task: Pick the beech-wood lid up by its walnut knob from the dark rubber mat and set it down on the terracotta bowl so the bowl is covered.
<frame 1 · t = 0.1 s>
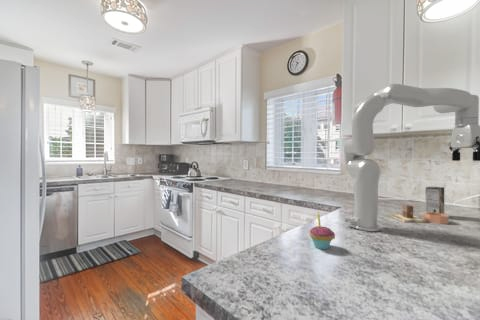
hand: (466, 160, 102), 31 cm above the counter, fingers open, 9 cm apart
mat: (407, 220, 117), on the counter
bowl: (436, 222, 114), on the counter
lid: (407, 219, 117), resting on mat
coffee box: (434, 216, 126), on the counter
cupcake: (321, 247, 80), on the counter
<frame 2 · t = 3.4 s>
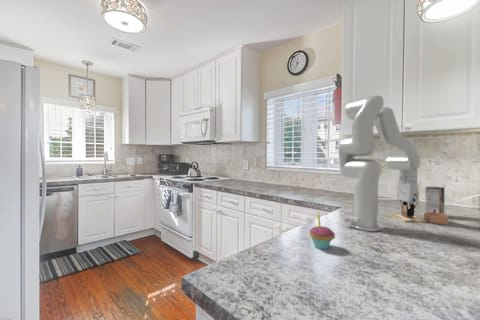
hand: (407, 214, 117), 3 cm above the counter, fingers closed on lid, 3 cm apart
lid: (407, 219, 117), resting on mat, touching gripper
everything else where it was.
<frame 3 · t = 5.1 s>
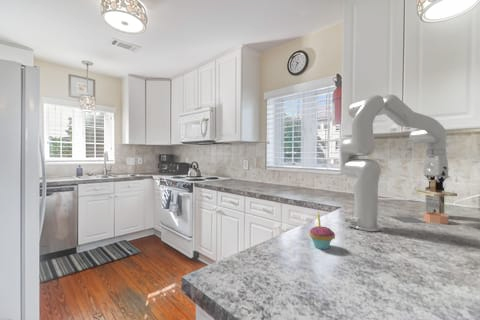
hand: (435, 189, 114), 17 cm above the counter, fingers closed on lid, 3 cm apart
lid: (435, 194, 114), point 14 cm above the counter, touching gripper
everything else where it was.
when the fingers open (7 cm above the counter, at t = 7.0 s): lid stays where it is, resting on bowl.
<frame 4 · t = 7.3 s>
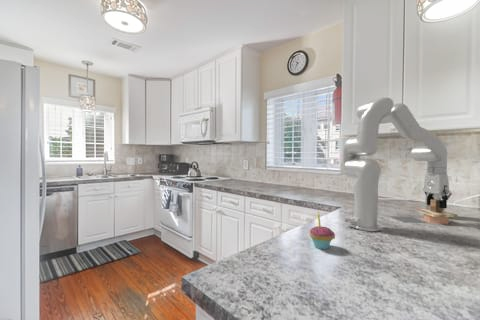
hand: (436, 206, 114), 8 cm above the counter, fingers open, 6 cm apart
lid: (436, 214, 114), point 4 cm above the counter, touching bowl
everything else where it was.
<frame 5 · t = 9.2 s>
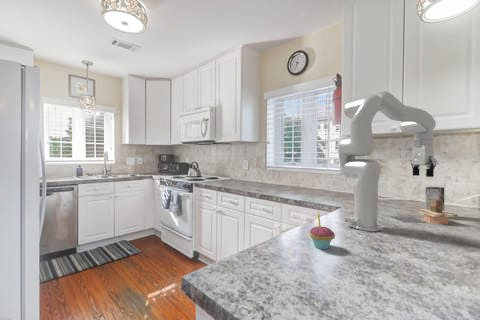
hand: (422, 176, 119), 23 cm above the counter, fingers open, 9 cm apart
nothing on the counter moved.
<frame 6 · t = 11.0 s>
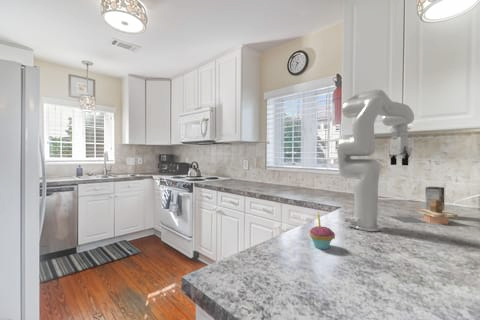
hand: (399, 165, 130), 28 cm above the counter, fingers open, 9 cm apart
nothing on the counter moved.
at the end: lid 0.1 cm off-centre on the bowl, point 4.0 cm above the bowl's base; lid tilted 0°; the gripper is holding nothing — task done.
